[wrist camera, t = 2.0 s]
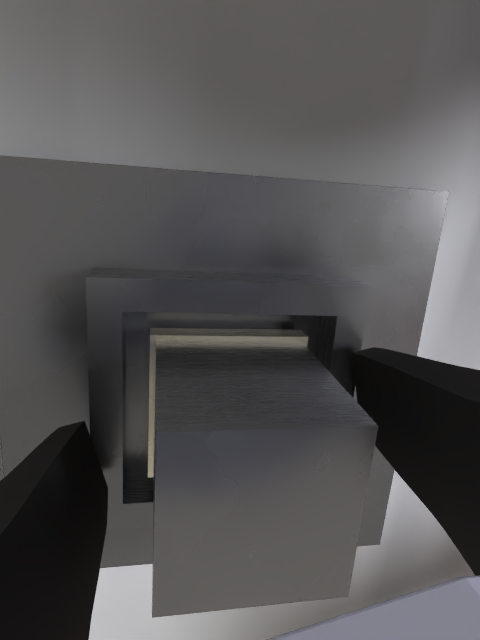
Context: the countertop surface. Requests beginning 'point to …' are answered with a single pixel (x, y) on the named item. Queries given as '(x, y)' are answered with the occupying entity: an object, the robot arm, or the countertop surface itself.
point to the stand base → (189, 298)
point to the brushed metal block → (251, 471)
